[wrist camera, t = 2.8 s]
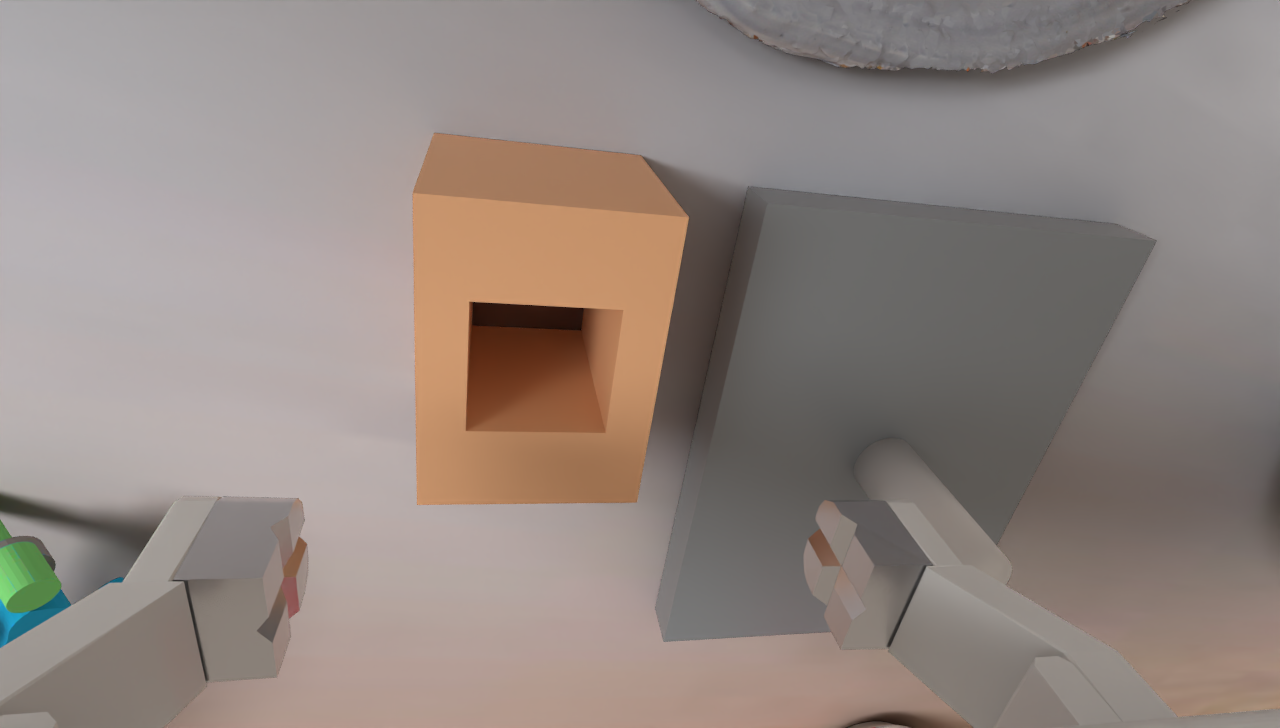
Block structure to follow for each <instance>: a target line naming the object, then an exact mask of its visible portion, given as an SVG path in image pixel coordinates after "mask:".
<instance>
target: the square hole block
mask: <svg viewBox="0 0 1280 728" xmlns="http://www.w3.org/2000/svg"><path fill="white" fill-rule="evenodd" d="M688 221H689V217H688V216H687V214H686V213H685V212H684V210H683V209H682V208H681V206H680V205H679V204H678V203H677V201H676V200H675V199H674V197H673V196H672V195H671V194H670V192H669V191H668V190H667V188H666V187H665V186H664V185H663V183H662V182H661V181H660V179H659V178H658V177H657V175H656V174H655V173H654V172H653V170H652V169H651V168H650V166H649V165H648V164H647V163H646V161H645V160H644V159H643V157H642V156H641V155H633V154H624V153H614V152H605V151H596V150H587V149H578V148H568V147H559V146H550V145H541V144H532V143H522V142H513V141H504V140H495V139H486V138H476V137H467V136H458V135H449V134H440V133H434V135H433V137H432V140H431V143H430V146H429V149H428V151H427V154H426V157H425V160H424V163H423V165H422V168H421V171H420V174H419V177H418V179H417V182H416V185H415V188H414V191H413V251H414V323H415V395H416V467H417V505H443V504H538V503H634V502H637V499H638V493H639V488H640V482H641V477H642V471H643V466H644V461H645V455H646V450H647V444H648V439H649V433H650V428H651V422H652V417H653V411H654V406H655V401H656V395H657V390H658V384H659V379H660V373H661V368H662V362H663V357H664V351H665V346H666V341H667V335H668V330H669V324H670V319H671V313H672V308H673V302H674V297H675V291H676V286H677V281H678V275H679V270H680V264H681V259H682V253H683V248H684V242H685V237H686V231H687V226H688ZM473 302H486V303H504V304H522V305H540V306H558V307H576V308H584V309H583V318H582V327H581V331H580V330H559V329H538V328H517V327H496V326H475V325H472V310H473Z"/></svg>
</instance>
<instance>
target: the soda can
mask: <svg viewBox="0 0 1280 728" xmlns="http://www.w3.org/2000/svg"><path fill="white" fill-rule="evenodd" d="M848 728H910V727H907V726H902V725H894V724H891V723H888V722H880V721H874V722H866V723H861V724H857V725H854V726H851V727H848Z"/></svg>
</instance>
